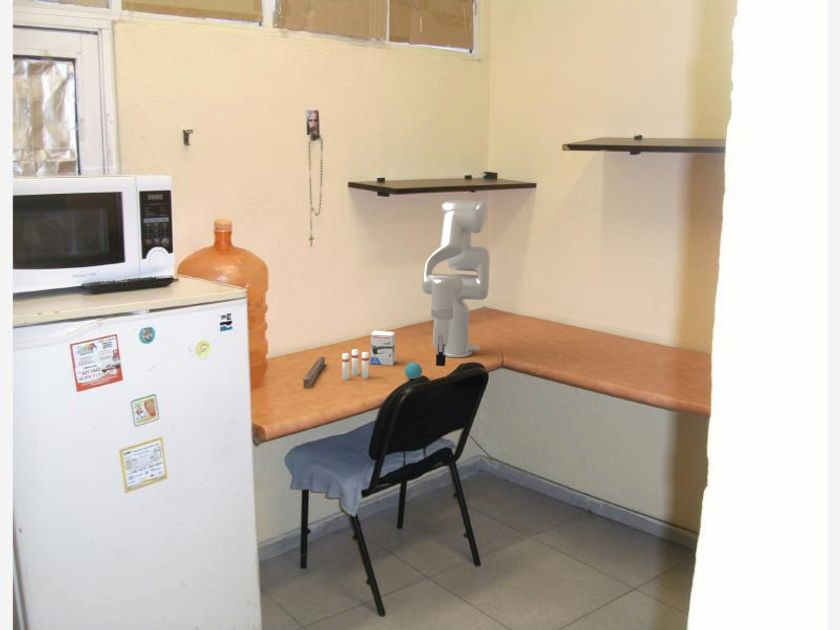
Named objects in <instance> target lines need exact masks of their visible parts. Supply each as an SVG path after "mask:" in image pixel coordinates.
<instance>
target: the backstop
mask: <svg viewBox="0 0 840 630" xmlns="http://www.w3.org/2000/svg"><path fill="white" fill-rule="evenodd" d="M325 360H326V359H325V356H318V358H317V359H316V361H314V363H313V365H312V366H311V367H310V369H309V370H308V372H307V374H306V375H305V376H304V378H302V379H303V381H302V382H303V389H306V388H307V389H309V388H311V386H312V384H313V383H314V382H315V380H316V379H317V377H318V376H319V374H320V373H321V371H322V369H323V368H324V366H325V363H326V361H325ZM317 375H318V376H317Z"/></svg>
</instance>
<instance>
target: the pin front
mask: <svg viewBox="0 0 840 630" xmlns="http://www.w3.org/2000/svg"><path fill="white" fill-rule="evenodd" d="M369 356H370V352H369V351H362V352H361V379H369V378H370V377H369V375H370V374H369V373H370V372H369V369H370V366H369V364H370V357H369Z"/></svg>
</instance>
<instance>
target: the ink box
mask: <svg viewBox="0 0 840 630" xmlns="http://www.w3.org/2000/svg"><path fill="white" fill-rule="evenodd" d="M395 347H396V332H394V331H383V330H373V331H372V332H371V334H370V365H379V366H380V365H381V366H393V365H394V363H395V362H396V361H395V359H396V358H395V356H396V353H395V351H396V350H395V349H396V348H395Z"/></svg>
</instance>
